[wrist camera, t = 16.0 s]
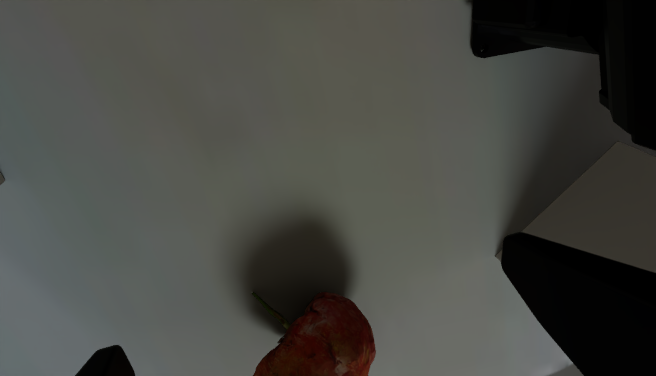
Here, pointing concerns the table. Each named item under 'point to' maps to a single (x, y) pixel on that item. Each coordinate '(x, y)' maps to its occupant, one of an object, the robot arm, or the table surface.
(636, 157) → the milk
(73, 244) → the table surface
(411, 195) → the table surface
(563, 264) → the robot arm
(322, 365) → the red fruit
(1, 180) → the box
